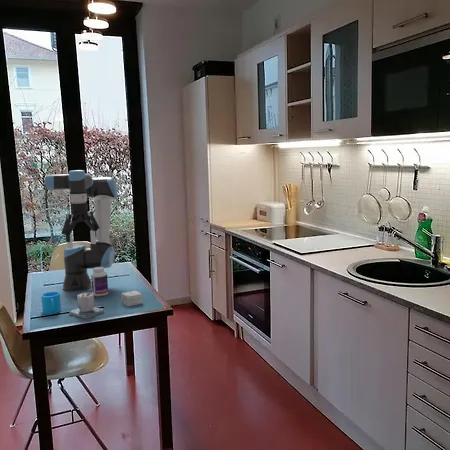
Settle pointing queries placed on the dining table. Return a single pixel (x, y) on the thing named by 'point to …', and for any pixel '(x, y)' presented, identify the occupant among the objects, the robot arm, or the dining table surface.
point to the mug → (51, 302)
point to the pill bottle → (99, 282)
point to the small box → (131, 298)
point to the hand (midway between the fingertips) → (82, 246)
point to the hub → (86, 301)
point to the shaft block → (86, 312)
